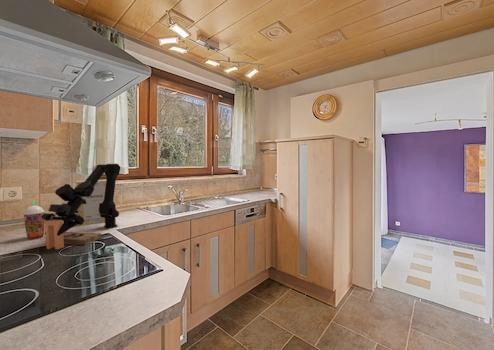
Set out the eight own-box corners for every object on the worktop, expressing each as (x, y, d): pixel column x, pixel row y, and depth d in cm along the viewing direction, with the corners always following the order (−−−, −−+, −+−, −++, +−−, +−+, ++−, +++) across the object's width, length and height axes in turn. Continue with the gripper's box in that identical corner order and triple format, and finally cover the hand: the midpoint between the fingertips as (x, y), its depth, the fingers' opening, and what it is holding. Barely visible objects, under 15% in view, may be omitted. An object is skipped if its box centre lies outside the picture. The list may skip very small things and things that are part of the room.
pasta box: (78, 226, 141) (76, 181, 139) (79, 222, 149) (76, 180, 148) (112, 221, 151) (110, 180, 150) (110, 218, 160) (109, 179, 158)
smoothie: (22, 241, 114) (20, 202, 113) (27, 236, 121) (25, 200, 120) (44, 238, 119) (42, 200, 117) (47, 234, 126) (45, 198, 125)
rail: (64, 236, 121) (64, 231, 121) (101, 238, 118) (101, 233, 118) (45, 243, 112) (45, 238, 111) (85, 245, 109) (85, 240, 108)
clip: (53, 246, 107) (51, 219, 106) (64, 246, 106) (62, 219, 105) (46, 248, 104) (44, 221, 103) (57, 249, 103) (56, 221, 102)
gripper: (44, 196, 109) (19, 225, 99) (78, 197, 106) (56, 227, 96) (60, 209, 117) (39, 237, 107) (92, 210, 115) (74, 238, 104)
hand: (51, 235), depth 103 cm, fingers closed on clip, 6 cm apart
